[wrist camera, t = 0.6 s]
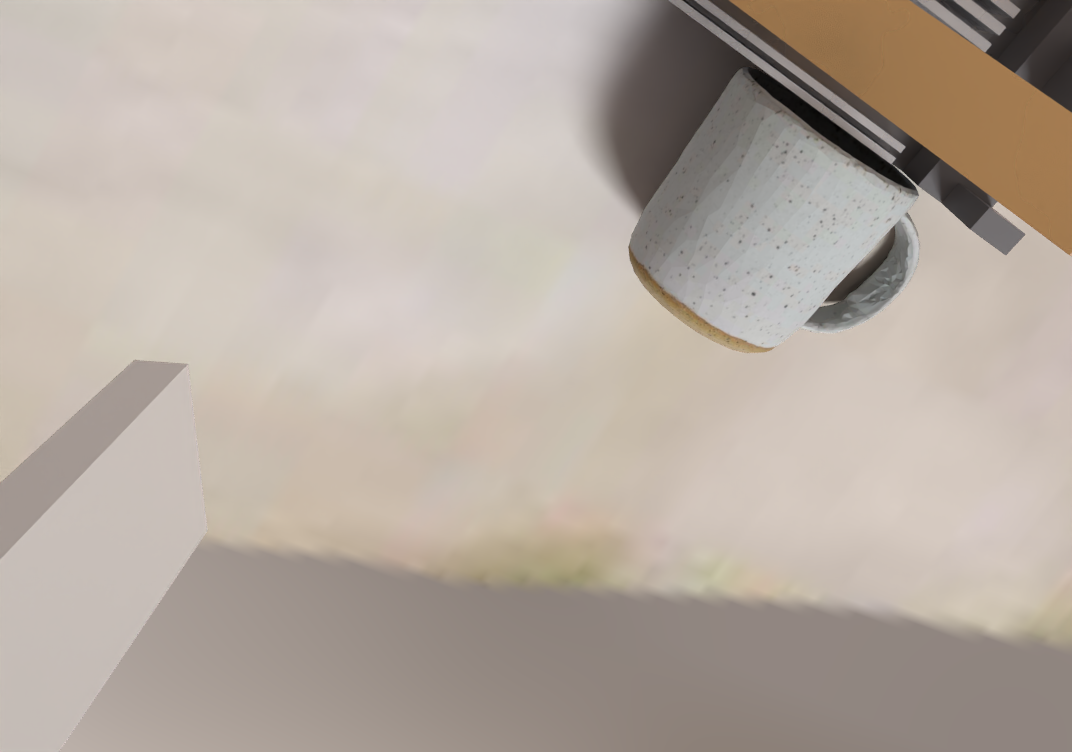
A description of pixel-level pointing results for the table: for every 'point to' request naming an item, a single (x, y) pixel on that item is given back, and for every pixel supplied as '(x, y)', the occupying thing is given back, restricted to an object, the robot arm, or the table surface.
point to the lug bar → (1047, 64)
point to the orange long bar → (941, 98)
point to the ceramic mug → (772, 222)
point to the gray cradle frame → (959, 3)
